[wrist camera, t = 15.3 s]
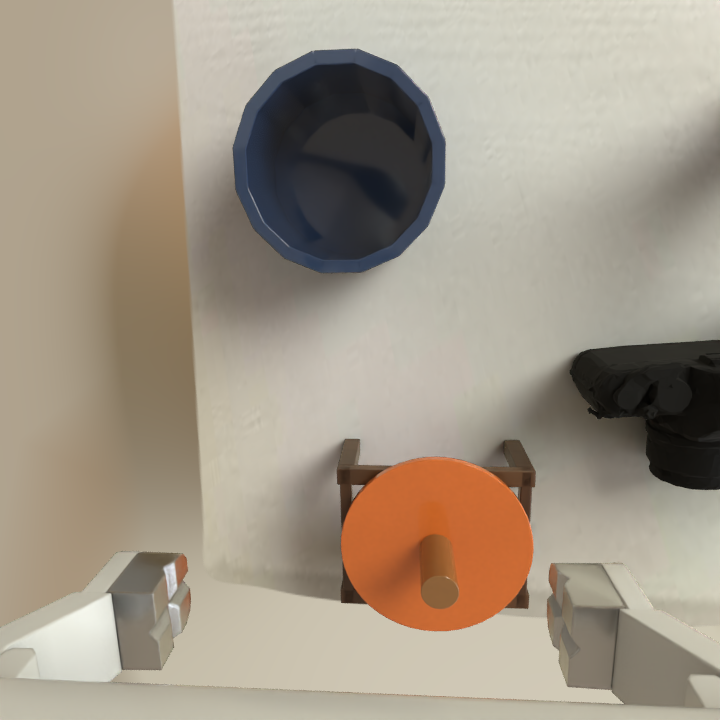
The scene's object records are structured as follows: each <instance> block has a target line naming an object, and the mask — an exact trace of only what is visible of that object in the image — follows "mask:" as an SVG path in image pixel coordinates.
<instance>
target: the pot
mask: <svg viewBox="0 0 720 720" xmlns="http://www.w3.org/2000/svg"><path fill="white" fill-rule="evenodd" d="M445 151H446V141H445V137H444V134H443V132H442V129H441V127H440V124H439V122H438V119H437V116H436V114H435V111H434V109H433V106H432V103H431V101H430V99H429V97H428V96H427V95H426V94H425V93H424V92H423V91H422V90H421V89H420V88H419V87H418V85H417V84H416V83H415V82H414V81H413V80H412V79H411V78H410V77H409V76H408V75H407V74H406V73H405V72H404V71H403V70H402V69H401V68H400V67H399V66H398V65H396V64H394V63H392V62H389V61H387V60H384V59H382V58H379V57H377V56H374V55H372V54H369V53H367V52H365V51H362V50H360V49H337V50H315V51H314V52H313V51H311V52H309V53H307V54H305V55H303V56H301V57H299V58H297V59H295V60H294V61H292V62H290V63H288V64H286V65H284V66H282V67H280V68H278V69H276V70H275V71H274V72H272V74H271V75H270V76H269V77H268V79H267V80H266V81H265V82H264V83H263V85H262V86H261V87H260V88H259V90H258V91H257V92H256V93H255V94H254V96H253V97H252V98H251V99H250V100H249V102H248V103H247V105H246V106H245V109H244V112H243V115H242V118H241V122H240V125H239V128H238V131H237V135H236V138H235V141H234V144H233V159H234V174H235V189H236V192H237V194H238V197H239V199H240V201H241V203H242V205H243V207H244V210H245V212H246V214H247V216H248V218H249V220H250V222H251V225H252V227H253V229H254V230H255V231H256V232H257V233H258V234H259V235H260V236H261V237H262V238H263V239H264V240H265V241H266V242H267V243H268V244H270V245H271V246H272V247H273V248H274V249H275V250H276V251H277V252H278V253H279V254H280V255H281V256H282V257H284V259H287V260H289V261H292V262H294V263H297V264H299V265H302V266H304V267H307V268H309V269H312V270H314V271H317V272H319V273H361V272H364V271H366V270H369V269H371V268H373V267H376V266H378V265H380V264H382V263H385V262H387V261H389V260H392V259H394V258H396V257H398V256H400V255H401V254H402V253H403V252H404V251H405V250H406V249H407V247H408V246H409V245H410V244H411V243H412V242H413V241H414V240H415V239H416V238H417V237H418V236H419V235H420V234H421V233H422V232H423V231H424V230H425V229H426V228H427V227H428V225H429V223H430V221H431V218H432V216H433V213H434V211H435V209H436V206H437V204H438V201H439V199H440V196H441V194H442V191H443V189H444V187H445Z"/></svg>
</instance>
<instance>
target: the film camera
mask: <svg viewBox="0 0 720 720" xmlns="http://www.w3.org/2000/svg"><path fill="white" fill-rule="evenodd" d="M570 374H571V375H572V377H573V381H574V382H575V384H576V386H577V388H578V390H579V392H580V393H581V395H582V397H583V398H584V399H585V400H586V401H587V402H588V403H589V404H590V405H591V406H592V407H593V408H594V409H595V410H596V411H597V412H596V411H594V410H592V409H591V408H589V409H588V412H589V414H590V413H592V414H593V415H595V416H596V417H597V419H601V418H602V417H605V418H610V419H611V418H614V417H616V418H620V417H635V416H636V417H644V418H645V419H647V420H646V427H645V429H646V432H647V433H648V436H647V444H646V455H647V457H648V459H649V461H650V465H649V469H650V471H651V473H652V474H653V475H654V476H655V477H657V478H659V479H660V480H662V481H665V482H668V483H670V484H673V485H675V486H680V487H684V488H688V489H698V490H718V489H720V340H710V341H695V342H681V343H662V344H647V345H631V346H618V347H608V348H599V349H590V350H586V351H584V352H581V353H580V354H579V355H578V356H577V357H576V359H575V360H574V362H573V365H572V369H571V370H570Z"/></svg>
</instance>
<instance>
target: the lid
mask: <svg viewBox="0 0 720 720" xmlns="http://www.w3.org/2000/svg"><path fill="white" fill-rule="evenodd" d="M341 553H342V560H343V563H344V567H345V570H346V573H347V575H348V578H349V580H350V581H351V583H352V585H353V586H354V588H355V590H356V591H357V592H358V594H359V595H360V596H361V597H362V598H363V599H364V601H365V602H366V603H367V604H368V605H369V606H371V607H372V608H373V609H374V610H376V611H377V612H378V613H380V614H382V615H383V616H385V617H386V618H388V619H390V620H392V621H395V622H396V623H399V624H401V625H404V626H407V627H410V628H415V629H420V630H428V631H451V630H458V629H462V628H466V627H470V626H473V625H476V624H478V623H481V622H483V621H485V620H487V619H489V618H491V617H493V616H494V615H495V614H497V613H498V612H500V611H501V610H502V609H504V608H505V607H506V606H507V605H508V604H509V603H510V602H511V601H512V600H513V599H514V597H515V596H516V595H517V594H518V592H519V591H520V589H521V588H522V586H523V585H524V583H525V581H526V578H527V576H528V574H529V571H530V567H531V564H532V558H533V535H532V529H531V526H530V523H529V519H528V517H527V514H526V512H525V510H524V508H523V506H522V504H521V502H520V501H519V499H518V498H517V496H516V495H515V494H514V492H513V491H512V490H511V489H510V488H509V487H508V486H507V485H506V484H505V483H504V482H503V481H502V480H500V479H499V478H498V477H497V476H495V475H494V474H492V473H491V472H489V471H487V470H486V469H484V468H482V467H479V466H477V465H475V464H472V463H469V462H466V461H463V460H459V459H454V458H447V457H423V458H417V459H411V460H408V461H405V462H401V463H398V464H396V465H394V466H392V467H389V468H387V469H386V470H384V471H382V472H381V473H379V474H377V475H376V476H375V477H374V478H372V479H371V480H370V481H369V482H367V484H366V485H365V486H364V487H363V488H362V489H361V490H360V491H359V492H358V494H357V495H356V497H355V498H354V499H353V501H352V503H351V505H350V507H349V509H348V511H347V514H346V517H345V520H344V523H343V529H342V534H341Z"/></svg>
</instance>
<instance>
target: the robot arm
mask: <svg viewBox="0 0 720 720" xmlns="http://www.w3.org/2000/svg"><path fill="white" fill-rule="evenodd" d="M187 572H188V567H187V559H186V557H185V556H184V554H182V553H160V552H159V553H158V552H139V551H121V552H116V553H115V555H114V556H113V557H112V558H111V559H110V560H109V561H108V562H107V563H106V565H105V566H104V567H103V568H102V569H101V570H100V571H99V573H98V574H97V575H96V576H95V577H94V578H93V579H92V580H91V582H90V583H89V584H88V585H87V586H86V587H85V588H84V590H83V591H82V592H74V593H72V594H69V595H68V596H65V597H63V598H61V599H59V600H57V601H55V602H53V603H50V604H48V605H46V606H44V607H42V608H40V609H38V610H36V611H33V612H32V613H29V614H27V615H25V616H23V617H21V618H19V619H17V620H15V621H12V622H10V623H8V624H6V625H4V626H2V627H0V720H720V643H719V642H717V641H715V640H713V639H712V638H710V637H708V636H706V635H705V634H703V633H701V632H699V631H698V630H696V629H694V628H692V627H691V626H689V625H687V624H685V623H684V622H682V621H680V620H679V619H677V618H675V617H673V616H672V615H670V614H668V613H666V612H665V611H663V610H655V609H654V608H653V606H652V605H651V603H650V602H649V600H648V598H647V597H646V595H645V594H644V592H643V591H642V589H641V588H640V586H639V585H638V583H637V582H636V580H635V578H634V577H633V575H632V574H631V572H630V571H629V569H628V568H627V566H626V565H625V564H623V563H551V566H550V570H549V583H550V585H551V588H552V591H553V593H552V595H551V596H550V597H549V598H548V601H547V619H548V628H549V633H550V637H551V640H552V644H553V646H554V647H556V648H557V649H558V650H559V664H560V667H561V670H562V672H563V675H564V678H565V681H566V684H567V686H568V687H576V688H591V689H605V690H612V693H613V694H614V695H615V696H617V697H618V698H619V699H620V700H621V701H622V702H623V703H624V704H608V703H607V704H606V703H584V702H561V701H538V700H516V699H492V698H469V697H446V696H421V695H398V694H397V695H396V694H376V693H352V692H330V691H306V690H283V689H260V688H259V689H258V688H237V687H213V686H190V685H167V684H144V683H121V682H109V681H111V680H112V679H113V678H114V677H116V676H117V675H118V674H120V673H121V672H122V670H162V668H163V666H164V664H165V662H166V661H167V659H168V657H169V655H170V653H171V652H172V650H173V648H174V643H173V638H174V637H175V636H177V635H179V634H180V633H182V631H183V629H184V627H185V626H186V624H187V620H188V616H189V612H190V604H191V596H190V588H189V587H188V586H187V585H186V584H185V582H184V581H183V578H184V577H185V575H186V573H187Z"/></svg>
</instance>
